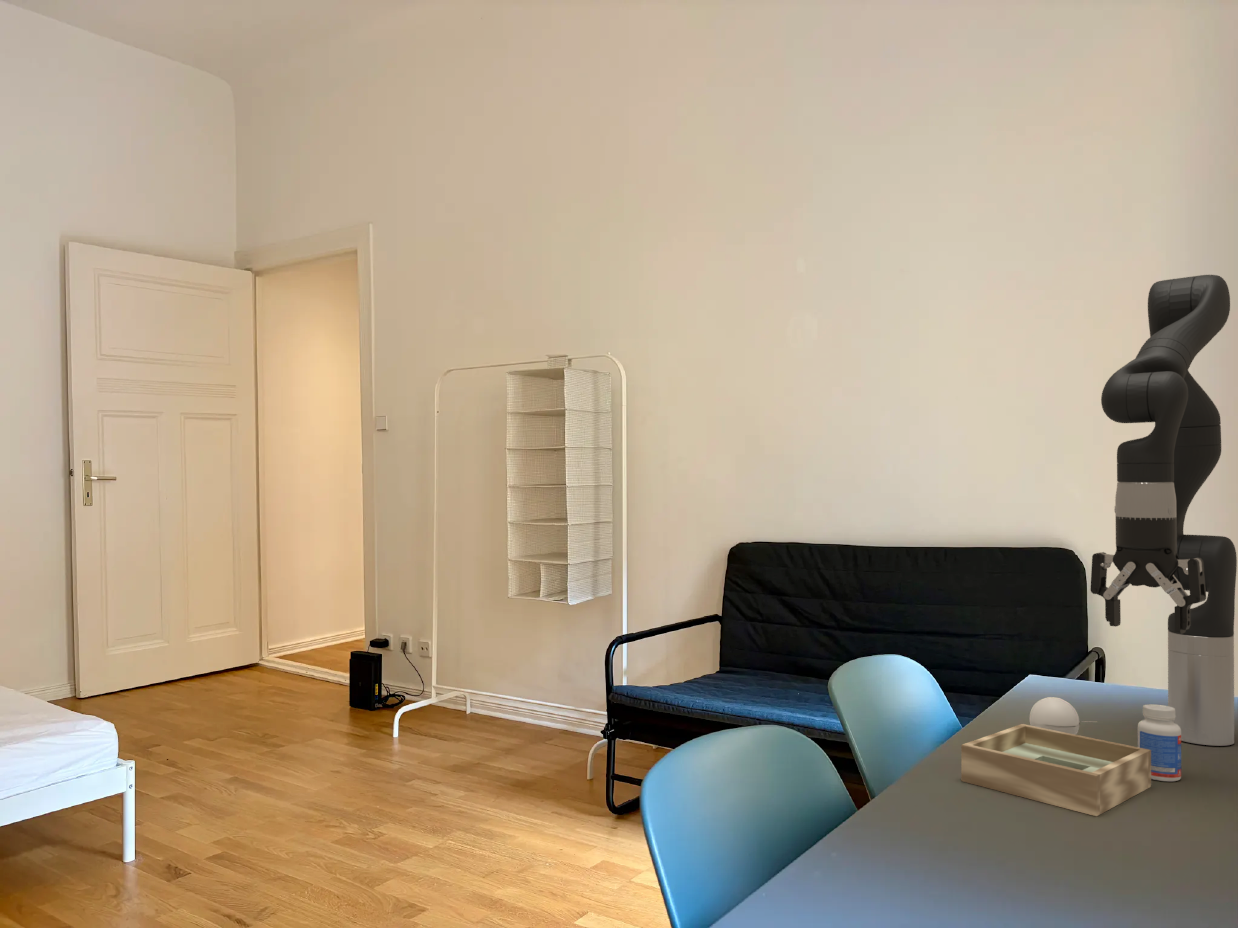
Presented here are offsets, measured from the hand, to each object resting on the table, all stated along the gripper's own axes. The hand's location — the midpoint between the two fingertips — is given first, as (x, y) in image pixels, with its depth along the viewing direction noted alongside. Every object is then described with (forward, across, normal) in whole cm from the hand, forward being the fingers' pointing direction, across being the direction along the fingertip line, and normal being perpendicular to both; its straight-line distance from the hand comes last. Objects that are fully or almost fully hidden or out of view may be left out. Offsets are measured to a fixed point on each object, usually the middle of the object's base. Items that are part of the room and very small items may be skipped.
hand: (1146, 629), depth 132 cm
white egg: (+22, +15, -8) cm, 28 cm away
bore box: (+21, +7, +13) cm, 25 cm away
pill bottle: (+21, -1, -2) cm, 21 cm away
